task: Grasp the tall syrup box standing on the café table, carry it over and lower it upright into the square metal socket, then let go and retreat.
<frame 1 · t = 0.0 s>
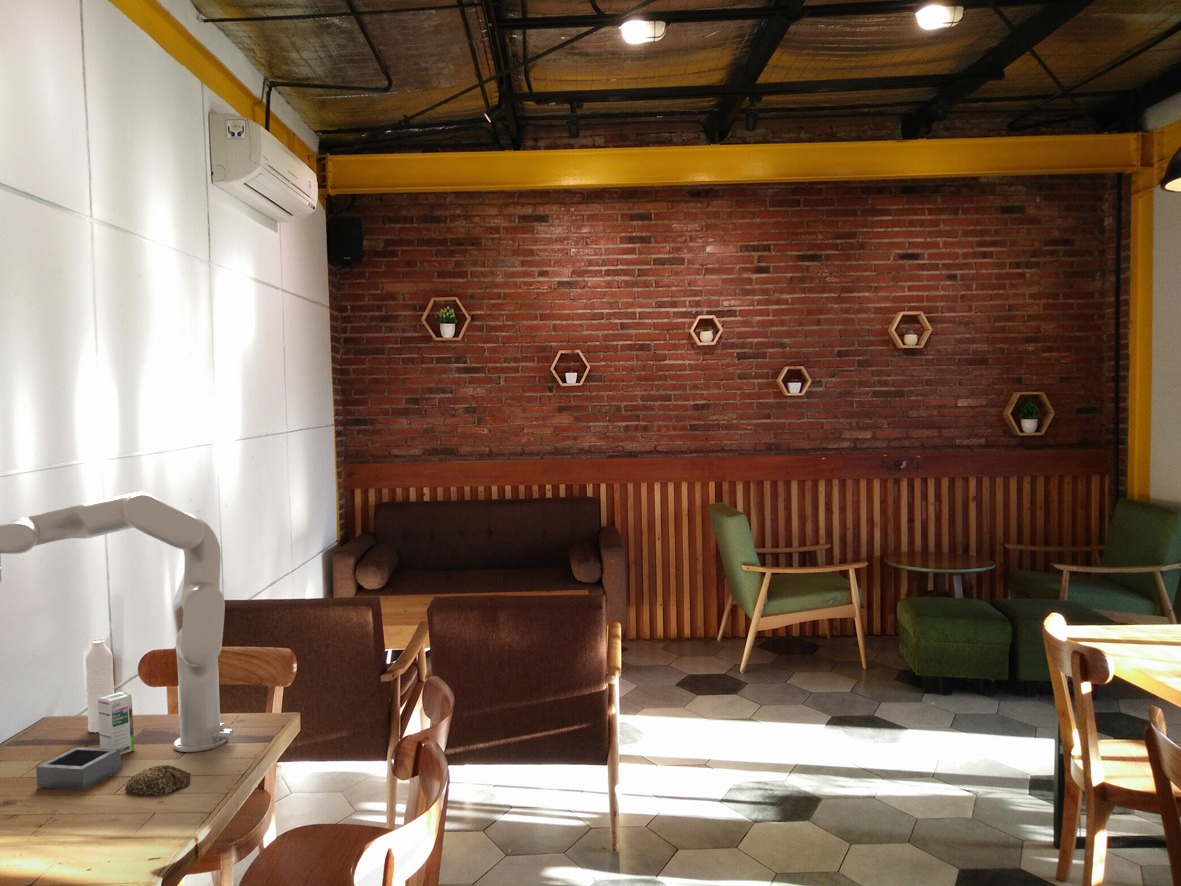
bread roll: (161, 787, 199), on the table
water bottle: (101, 730, 237), on the table
socket: (79, 778, 204), on the table
syrup box: (117, 753, 220), on the table
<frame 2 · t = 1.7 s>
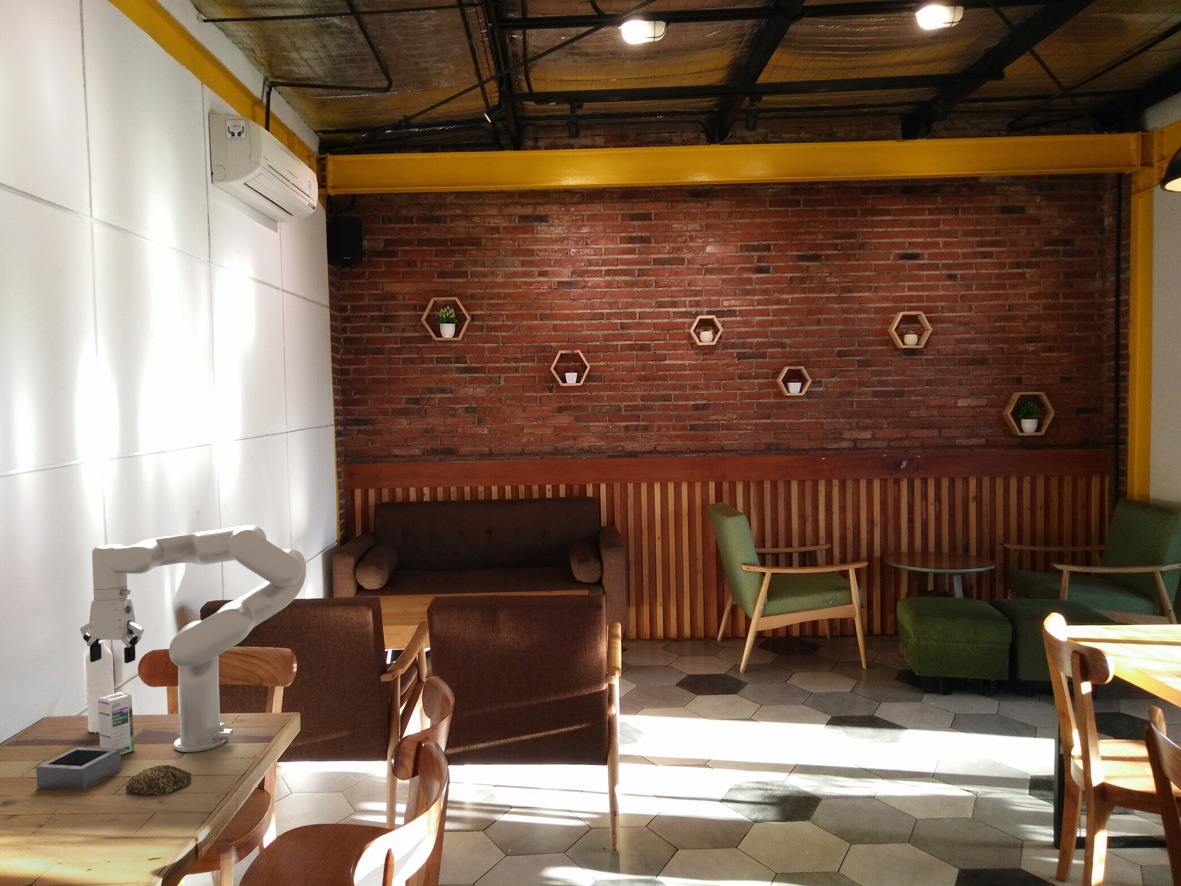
hand: (112, 661, 219), 23 cm above the table, tool pointing down, fingers open, 9 cm apart
nothing on the table moved.
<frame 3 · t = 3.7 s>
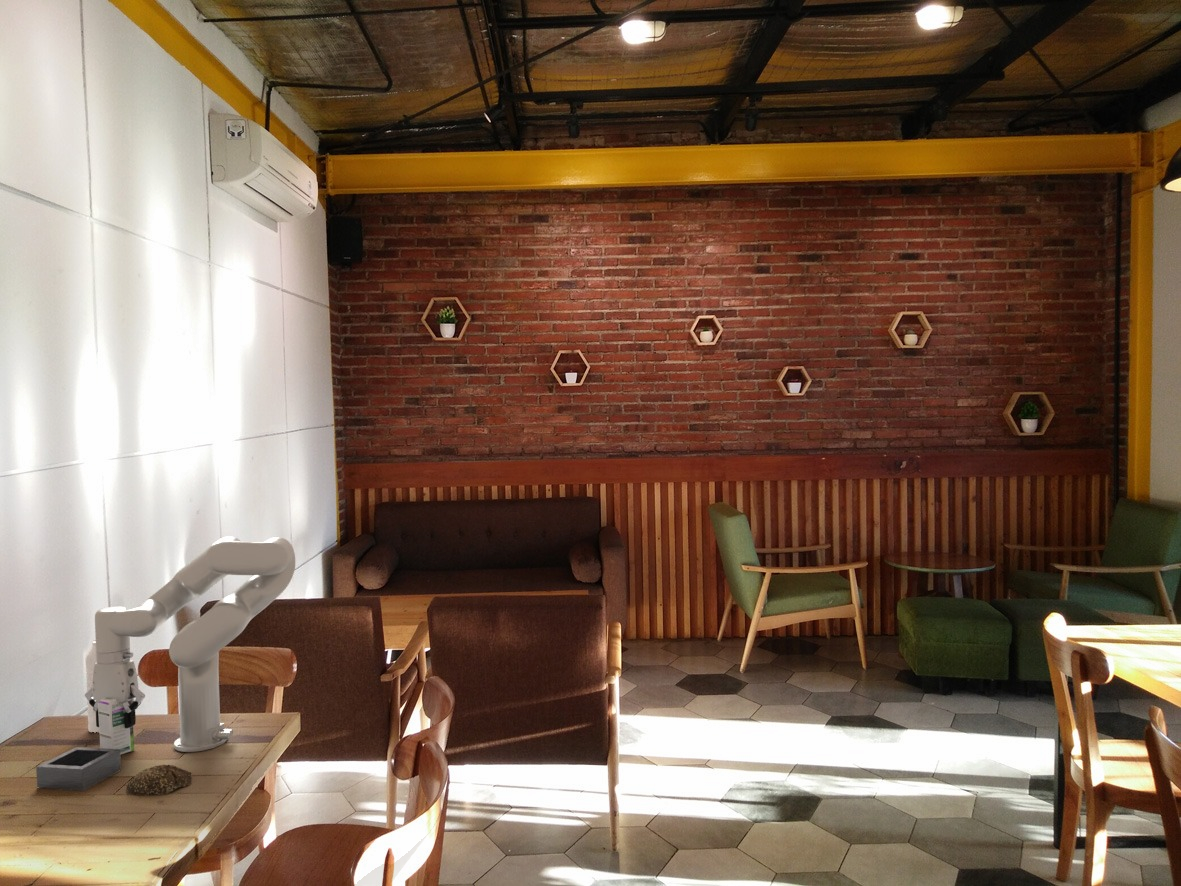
hand: (116, 725, 220), 7 cm above the table, tool pointing down, fingers closed on syrup box, 7 cm apart
syrup box: (117, 753, 220), on the table, touching gripper
everything else where it was.
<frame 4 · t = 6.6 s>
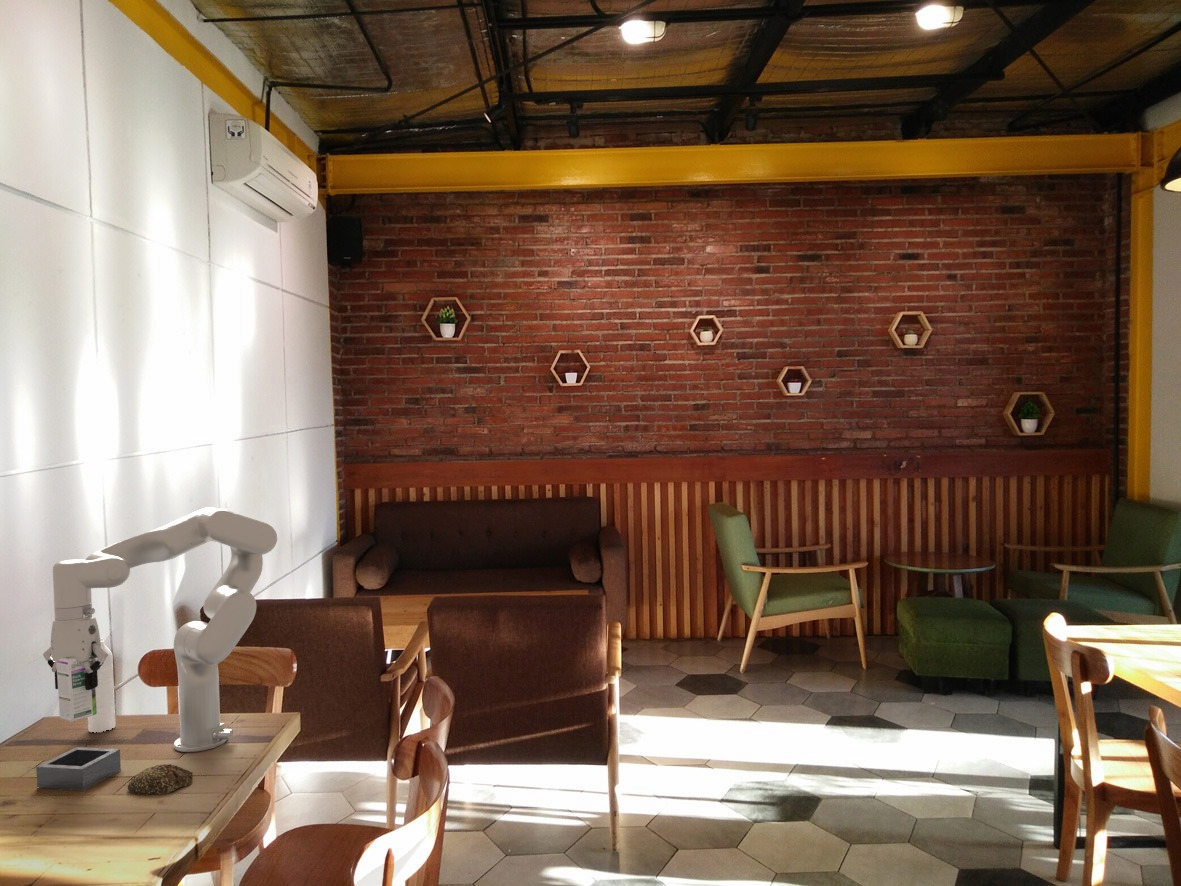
hand: (76, 687, 203), 22 cm above the table, tool pointing down, fingers closed on syrup box, 7 cm apart
syrup box: (78, 717, 204), point 15 cm above the table, touching gripper
everything else where it was.
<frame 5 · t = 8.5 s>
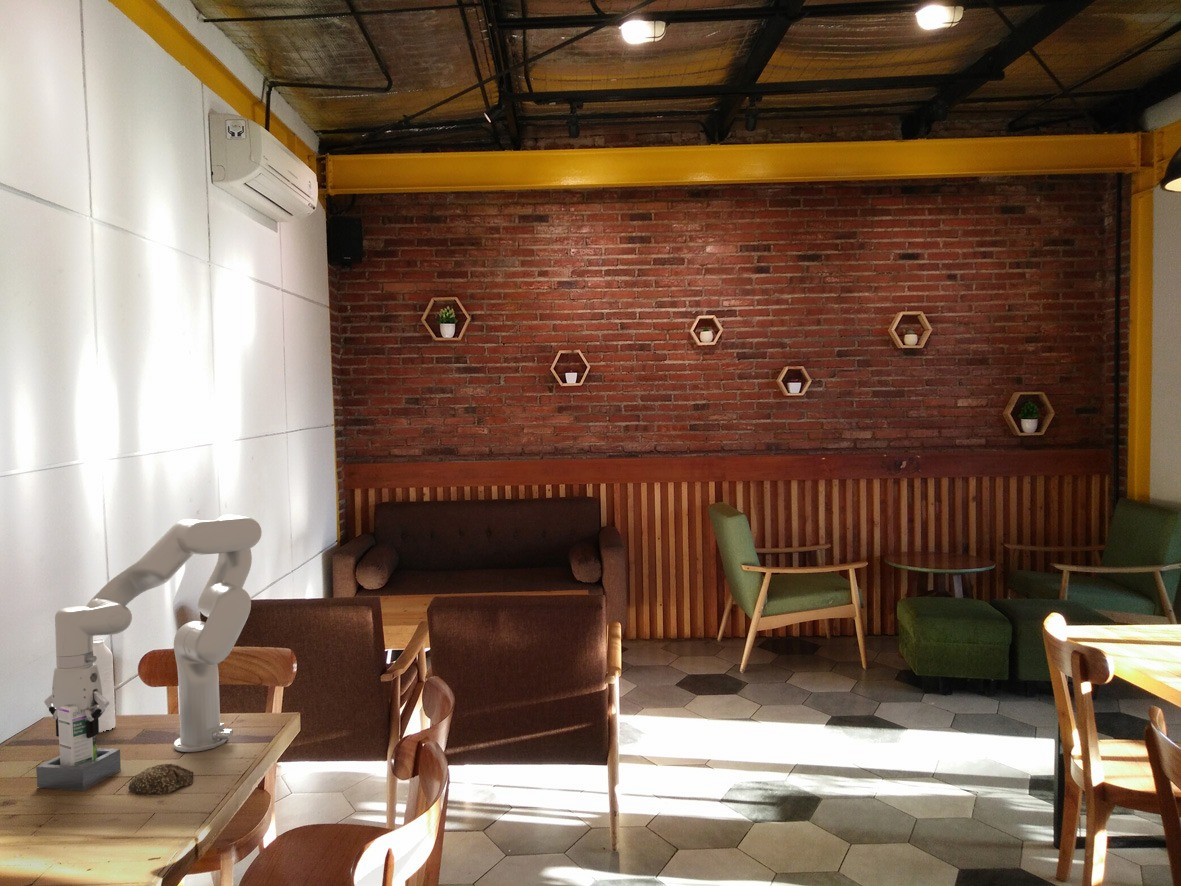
hand: (77, 734, 203), 10 cm above the table, tool pointing down, fingers closed on syrup box, 7 cm apart
syrup box: (78, 764, 204), point 3 cm above the table, touching gripper
everything else where it was.
when the fingers open (8 cm above the table, at t = 10.0 s): syrup box drops 1 cm, resting in socket.
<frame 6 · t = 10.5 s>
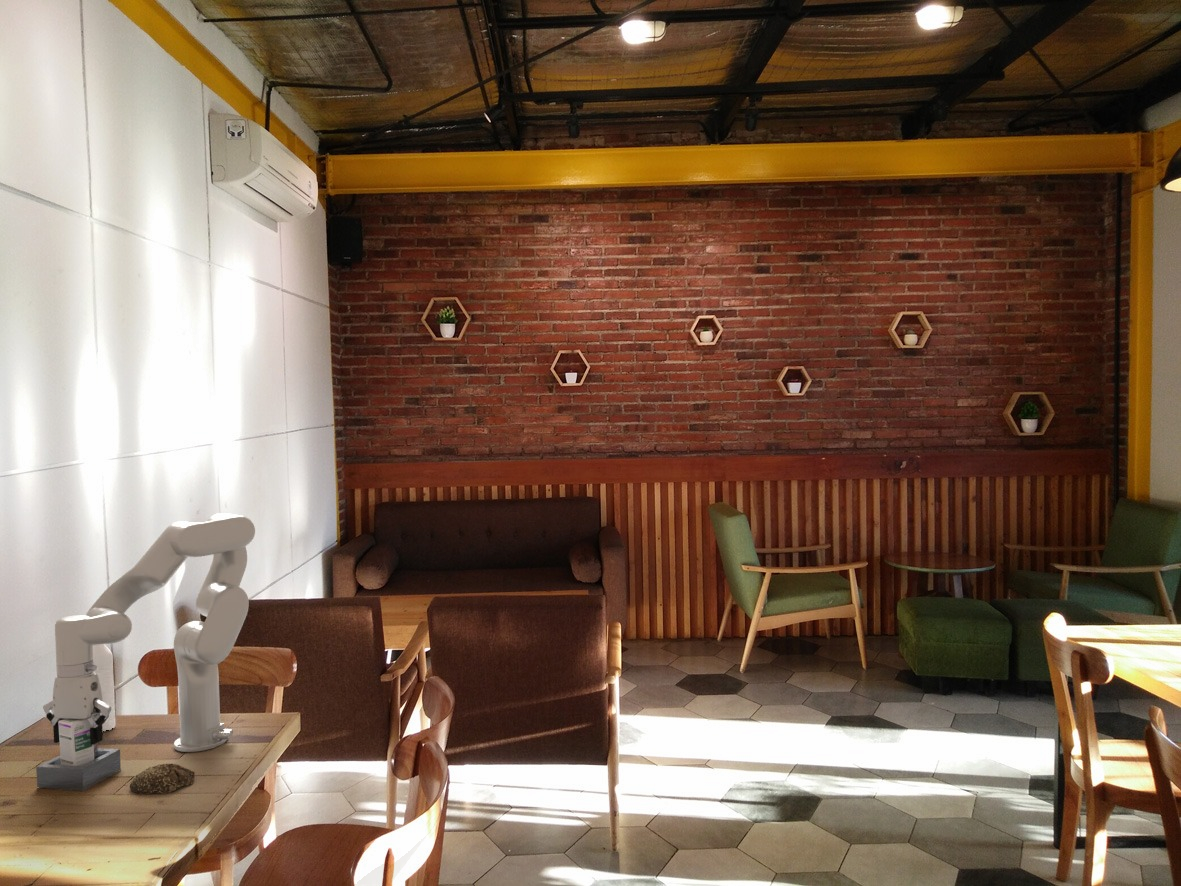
hand: (78, 741, 204), 9 cm above the table, tool pointing down, fingers open, 9 cm apart
syrup box: (80, 779, 204), resting in socket
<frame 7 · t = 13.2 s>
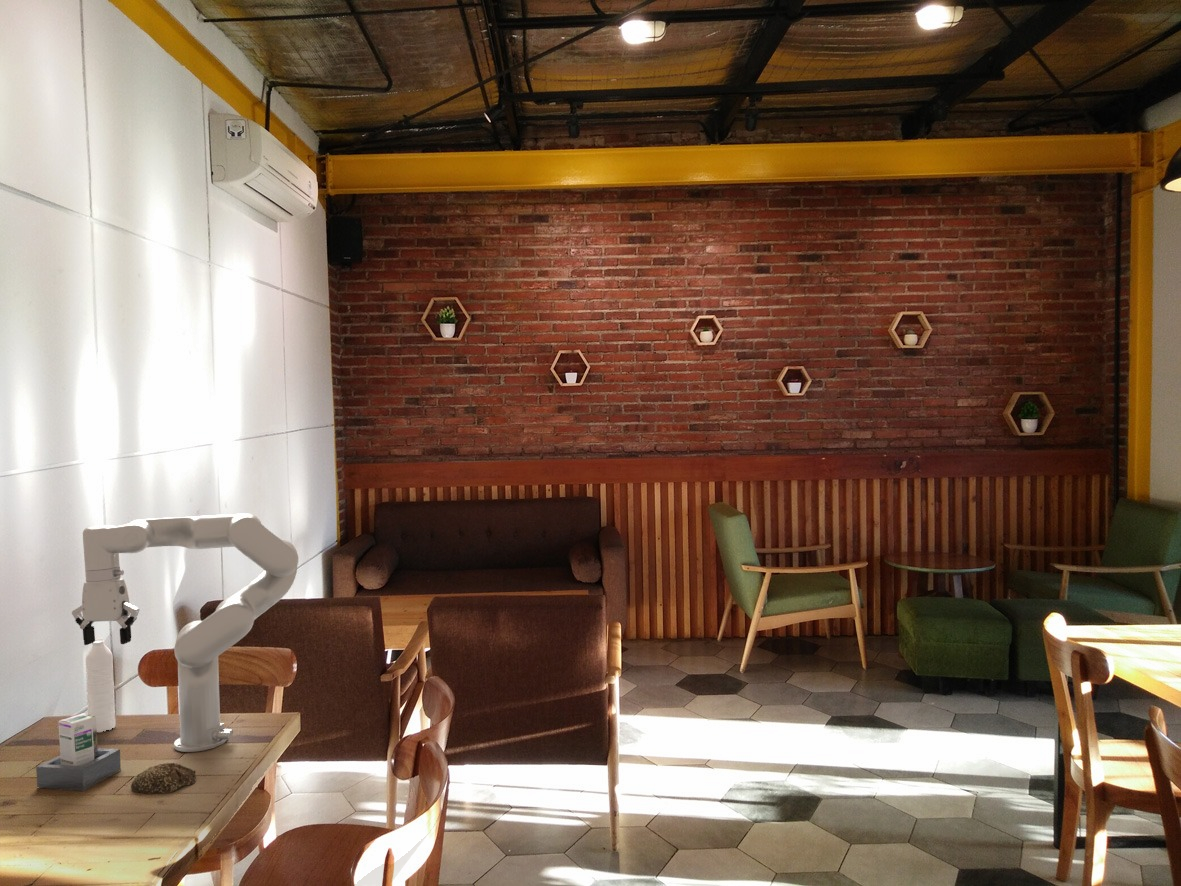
hand: (107, 643, 217), 29 cm above the table, tool pointing down, fingers open, 9 cm apart
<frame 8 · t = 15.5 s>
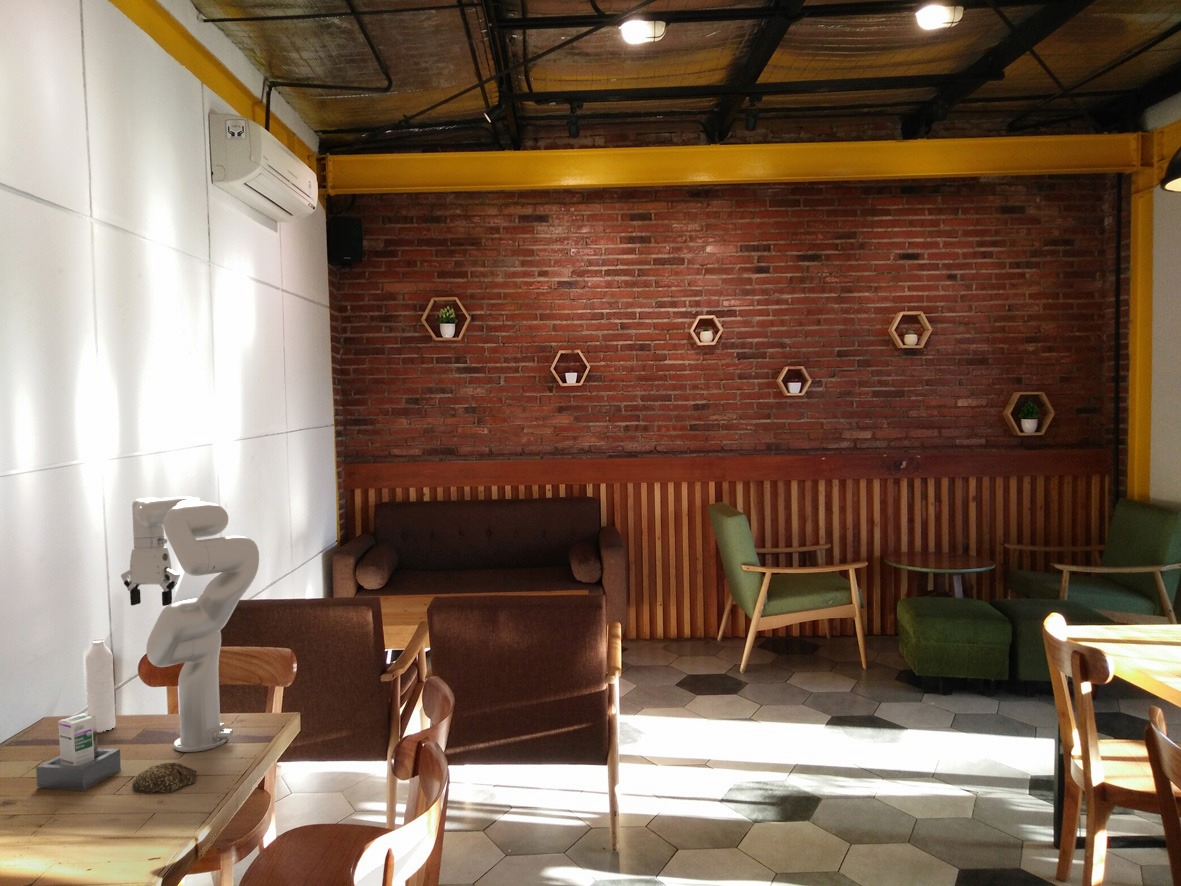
hand: (151, 604, 240), 33 cm above the table, tool pointing down, fingers open, 9 cm apart
at the end: syrup box 0.1 cm off-centre on the socket, point 0.0 cm above the socket's base; syrup box tilted 0°; the gripper is holding nothing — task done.
